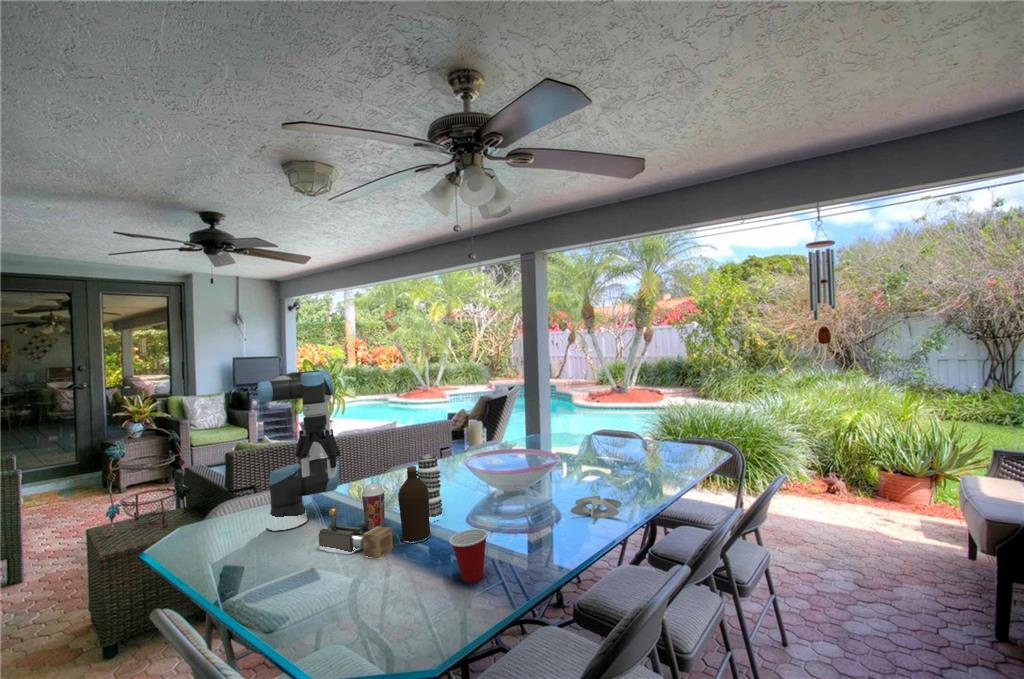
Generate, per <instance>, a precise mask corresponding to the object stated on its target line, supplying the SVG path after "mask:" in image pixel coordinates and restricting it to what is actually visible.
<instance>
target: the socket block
mask: <svg viewBox="0 0 1024 679" xmlns="http://www.w3.org/2000/svg"><path fill="white" fill-rule="evenodd" d="M392 529H393V528H392V527H389V526H383V527H381V526H377V527H375V528H373V529H371V530H369V531H368V530H367V531H366V532H363V533H364V534H363V546H364V548H363V555H364V556H368V557H372V558H380V557H382V556H383V555H385V554H386V553H388V552H389V551H391V550H392V549H393V550H394V544H393V542H394V541H393V531H392ZM391 552H392V551H391ZM388 554H389V553H388ZM386 555H387V554H386ZM386 555H385V556H386ZM364 556H363V557H364ZM383 557H384V556H383ZM383 557H382V558H383ZM372 558H371V559H372ZM380 559H381V558H380Z"/></svg>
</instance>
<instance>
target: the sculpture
mask: <svg viewBox="0 0 1024 679" xmlns="http://www.w3.org/2000/svg"><path fill="white" fill-rule="evenodd" d="M574 503H575V505H574V506H573V507H572V508H570V510H569V511H570V513H571V514H573V515H576V516H582V517H591V519H592V520H598V519H605V518H612V517H615V516H618V515H619V514H620V511H619V508H620V507H621V506H622V504H623V503H622V502H621V501H620V500H618V499H614V498H606V497H603V498H601V497H600V496H599V495H592V496H587V497H582V498H579V499H577V500H575V502H574ZM588 505H591V508H589V507H587V506H588ZM601 506H604V507H605V508H606V509H603V510H602V509H601Z"/></svg>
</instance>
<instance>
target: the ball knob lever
mask: <svg viewBox="0 0 1024 679" xmlns="http://www.w3.org/2000/svg"><path fill="white" fill-rule="evenodd" d="M337 513H338V509H337V508H336V507H331V508H330V509H329V511H328V514H329V515H330V525H332V530H337V525H338V524H337ZM352 546H353V547H355V548H362V549H364V546H363V536H359V535H352Z"/></svg>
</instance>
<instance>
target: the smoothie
mask: <svg viewBox="0 0 1024 679" xmlns="http://www.w3.org/2000/svg"><path fill="white" fill-rule="evenodd" d="M370 479H371V483H369V484H367V485H366V486H364V488H363V491H362V493H361V499H362V500H361V501H362V505H363V506H362V508H363V515H364V516H363V517H364V523H365V528H366V527H377V526H380V525H383V524H384V522H385V517H386V516H385V490H384V489H383V487H382V486H381V484H379V483H377V482H374V476H373V475H371V476H370ZM384 525H385V524H384Z"/></svg>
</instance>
